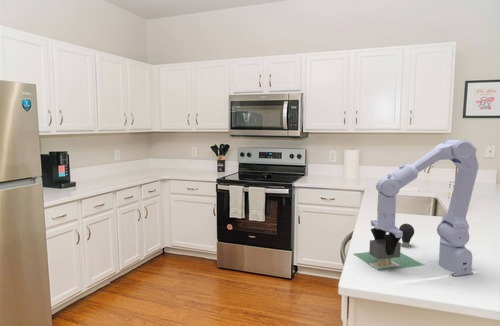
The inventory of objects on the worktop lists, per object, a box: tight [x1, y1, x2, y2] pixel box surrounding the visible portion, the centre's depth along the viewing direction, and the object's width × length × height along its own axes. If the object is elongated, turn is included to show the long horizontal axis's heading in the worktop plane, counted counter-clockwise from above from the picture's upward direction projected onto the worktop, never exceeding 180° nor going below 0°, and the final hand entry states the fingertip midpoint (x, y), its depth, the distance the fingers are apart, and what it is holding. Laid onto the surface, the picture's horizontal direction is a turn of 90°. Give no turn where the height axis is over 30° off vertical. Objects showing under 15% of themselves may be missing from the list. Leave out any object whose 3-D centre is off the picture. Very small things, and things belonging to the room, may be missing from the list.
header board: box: [353, 251, 424, 272], centre depth 124 cm, size 16×18×4 cm
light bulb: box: [398, 223, 415, 248], centre depth 138 cm, size 6×6×10 cm
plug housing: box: [368, 239, 401, 260], centre depth 119 cm, size 5×9×5 cm, turn 105°
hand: (384, 251), depth 119 cm, fingers closed on plug housing, 5 cm apart
